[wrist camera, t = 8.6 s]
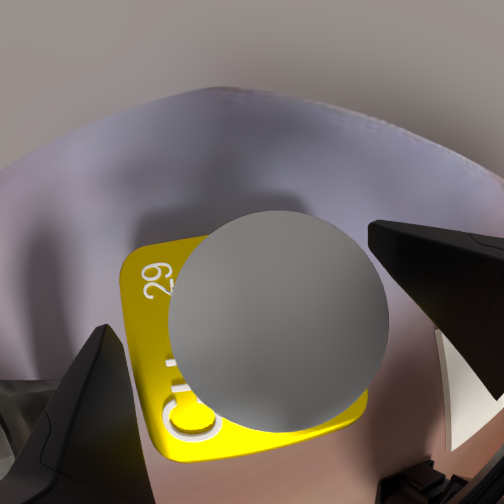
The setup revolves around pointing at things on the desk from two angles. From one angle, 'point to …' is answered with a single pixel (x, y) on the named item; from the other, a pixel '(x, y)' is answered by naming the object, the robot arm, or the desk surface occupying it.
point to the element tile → (170, 378)
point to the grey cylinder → (278, 321)
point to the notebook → (462, 396)
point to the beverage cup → (20, 414)
